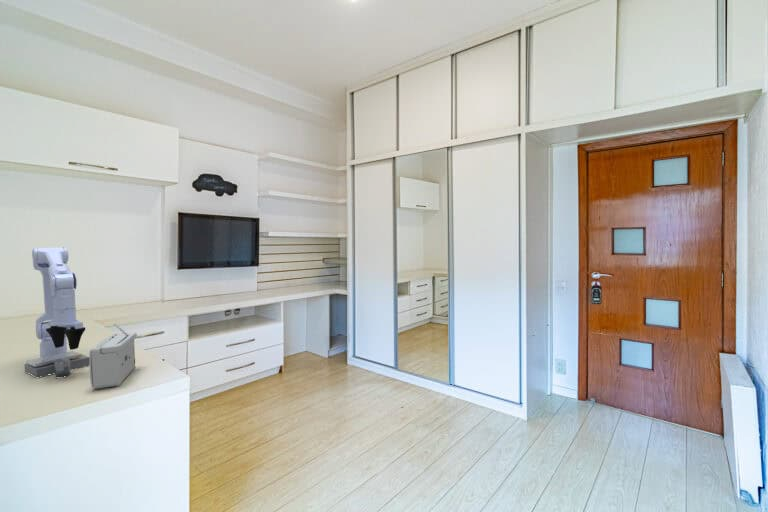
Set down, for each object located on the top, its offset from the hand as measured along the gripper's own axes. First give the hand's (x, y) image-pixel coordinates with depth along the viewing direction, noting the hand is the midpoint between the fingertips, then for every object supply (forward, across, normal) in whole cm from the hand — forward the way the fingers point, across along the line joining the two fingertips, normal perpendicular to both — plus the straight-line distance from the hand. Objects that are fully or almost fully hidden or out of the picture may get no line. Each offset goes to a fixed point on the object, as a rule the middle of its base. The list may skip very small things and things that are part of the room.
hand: (66, 348), depth 128 cm
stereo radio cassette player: (+10, +19, +3) cm, 22 cm away
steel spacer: (+10, -1, -1) cm, 10 cm away
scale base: (+10, -11, +4) cm, 15 cm away
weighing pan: (+6, -11, +2) cm, 13 cm away
